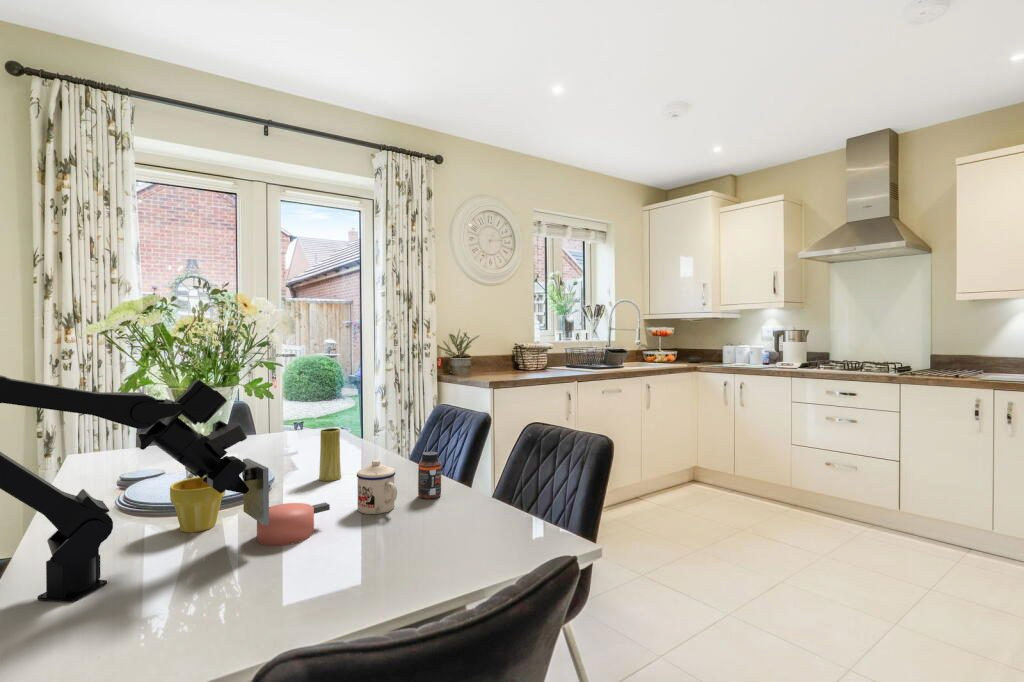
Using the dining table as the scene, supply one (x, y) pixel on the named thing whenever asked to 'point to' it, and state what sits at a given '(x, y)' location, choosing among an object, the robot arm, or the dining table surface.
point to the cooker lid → (256, 491)
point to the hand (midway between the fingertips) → (246, 491)
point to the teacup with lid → (376, 488)
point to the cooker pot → (289, 523)
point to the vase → (330, 455)
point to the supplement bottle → (429, 476)
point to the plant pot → (195, 504)
